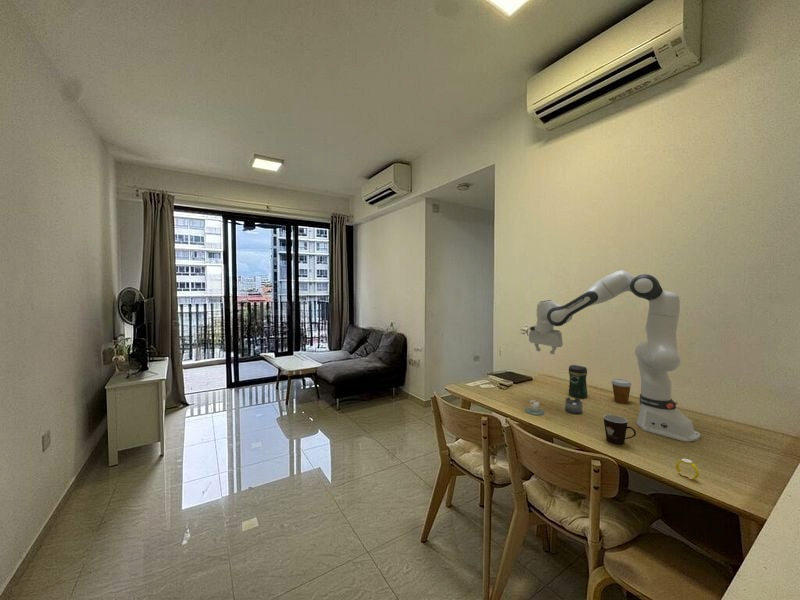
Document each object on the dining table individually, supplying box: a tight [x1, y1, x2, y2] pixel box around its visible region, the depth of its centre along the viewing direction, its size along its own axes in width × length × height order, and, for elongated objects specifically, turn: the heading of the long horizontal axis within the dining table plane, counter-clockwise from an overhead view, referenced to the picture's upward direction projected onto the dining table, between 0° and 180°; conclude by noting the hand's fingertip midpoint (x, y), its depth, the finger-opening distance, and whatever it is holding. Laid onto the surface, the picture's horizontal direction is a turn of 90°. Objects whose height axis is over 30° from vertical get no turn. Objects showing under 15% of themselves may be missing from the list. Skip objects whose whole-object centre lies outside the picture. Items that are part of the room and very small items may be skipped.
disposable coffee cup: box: [611, 378, 632, 405], centre depth 181 cm, size 10×10×12 cm
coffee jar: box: [568, 364, 588, 399], centre depth 192 cm, size 10×8×19 cm
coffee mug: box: [602, 414, 637, 446], centre depth 134 cm, size 12×9×10 cm
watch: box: [675, 458, 700, 480], centre depth 110 cm, size 6×3×6 cm, turn 24°
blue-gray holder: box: [564, 397, 583, 415], centre depth 169 cm, size 8×8×6 cm
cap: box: [529, 399, 540, 412], centre depth 170 cm, size 5×4×5 cm
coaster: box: [524, 407, 546, 416], centre depth 170 cm, size 10×10×1 cm
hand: (545, 352), depth 181 cm, fingers open, 8 cm apart
